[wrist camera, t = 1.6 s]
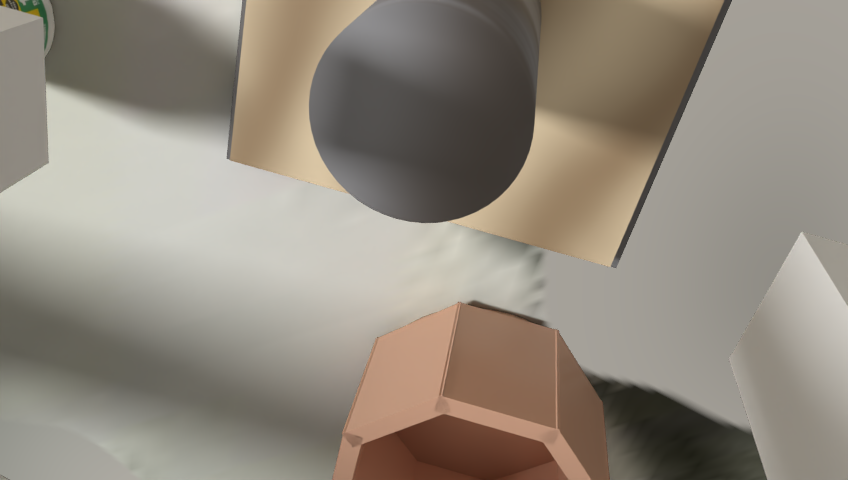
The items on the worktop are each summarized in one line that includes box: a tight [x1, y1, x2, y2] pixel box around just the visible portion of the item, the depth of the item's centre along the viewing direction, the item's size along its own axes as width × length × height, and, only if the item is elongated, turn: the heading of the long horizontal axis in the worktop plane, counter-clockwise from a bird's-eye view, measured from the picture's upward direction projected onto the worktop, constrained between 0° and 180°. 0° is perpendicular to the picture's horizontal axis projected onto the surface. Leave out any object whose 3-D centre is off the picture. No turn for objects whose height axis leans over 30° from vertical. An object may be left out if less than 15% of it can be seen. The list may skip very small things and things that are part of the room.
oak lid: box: [230, 0, 724, 267], centre depth 21 cm, size 16×16×12 cm
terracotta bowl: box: [332, 302, 610, 480], centre depth 33 cm, size 11×11×7 cm
